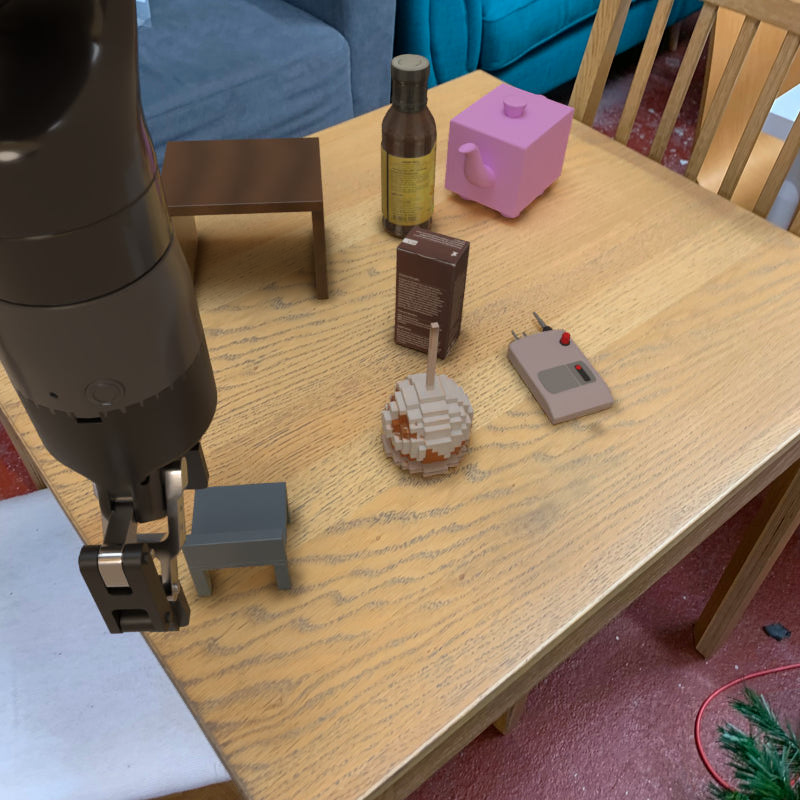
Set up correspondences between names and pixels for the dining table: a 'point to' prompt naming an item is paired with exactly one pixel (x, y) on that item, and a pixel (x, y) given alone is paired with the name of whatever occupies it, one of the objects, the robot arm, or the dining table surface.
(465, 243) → the box
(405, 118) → the sauce bottle
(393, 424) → the candy apple
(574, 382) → the remote control
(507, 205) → the teapot
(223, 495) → the chair
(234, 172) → the desk
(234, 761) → the dining table surface
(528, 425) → the dining table surface
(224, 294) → the dining table surface
